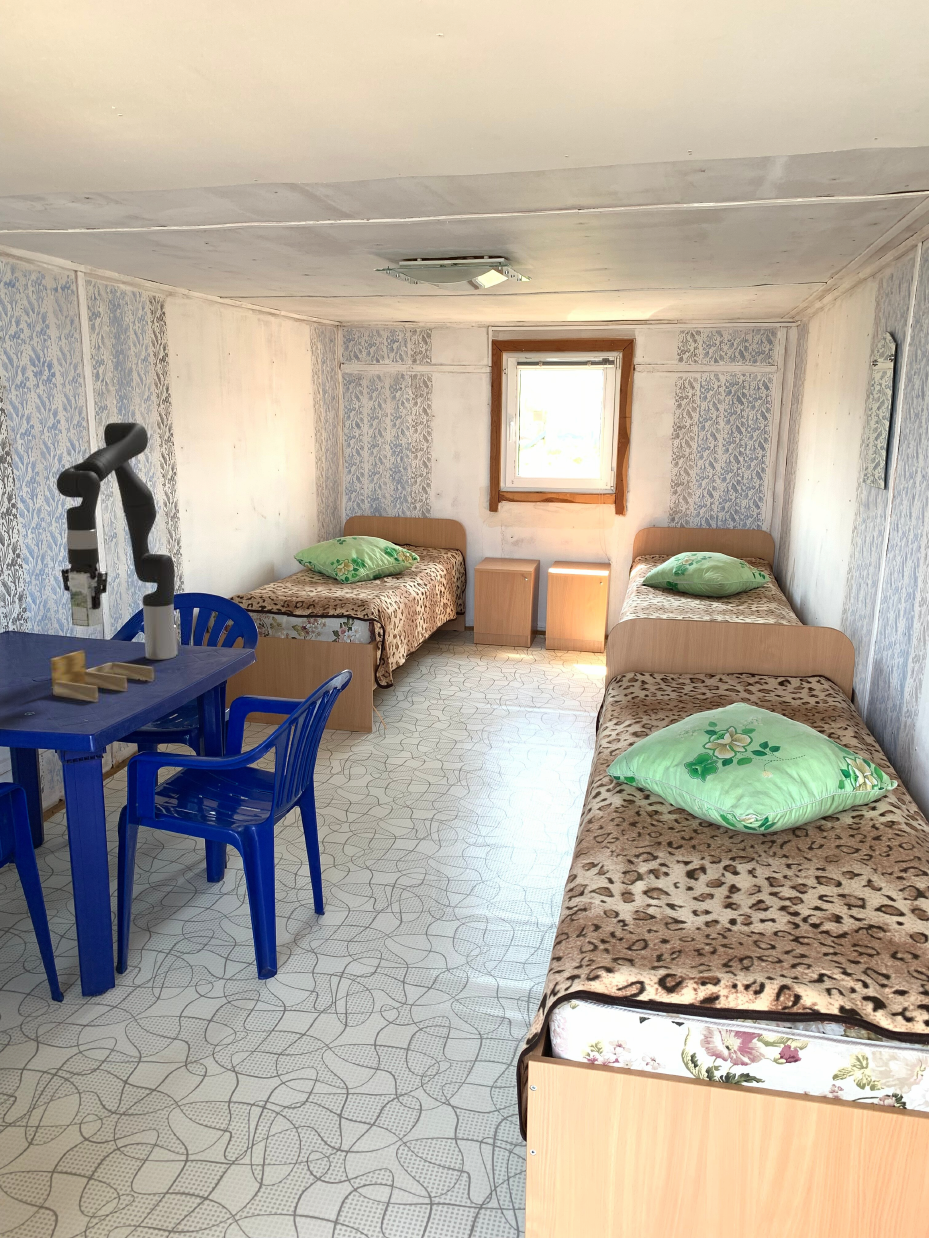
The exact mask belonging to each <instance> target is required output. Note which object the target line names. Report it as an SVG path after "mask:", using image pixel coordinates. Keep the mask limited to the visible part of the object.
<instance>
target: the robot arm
mask: <svg viewBox="0 0 929 1238" xmlns="http://www.w3.org/2000/svg"><path fill="white" fill-rule="evenodd" d="M103 437H104V444H105V446H104V447H103V448H100V449H98V450H96V451H94V452H92V453H91V454H89V455H88V456H87V457H86V458H85V459H84V460H83V461H81V462H79V463H76V464H74V465H72V466H69V467H67V468H66V469H64V470H62V471H61V472H60V473H59V475H58V477H57V479H56V488H57V490H58V492H59V493H60V494H61V495H62V496H63V497H66V498H75V499H76V498H79V499H82V500H81V502H80V504H79V505H78V506H77V505H76V506H72V507H69V508H68V509H67V510H66V513H65V514H66V530H67V531H66V547H67V562H68V564H69V565H70V568H67V567H66V568H63V569H61V570H60V572H61V577H62V583H63V589H64V591H65V592H68V593H70V586H69V573H71V572H73V573H78V572H81V574H85V573H89V574H90V578H91V580H95V578H97V579H96V583H95V584H91V583H89V587H90V589H91V595H92V596H91V601H92V609H94V610H96V609H99V608H100V606H101V607H102V601H101V602H100V595H101V596H102V594H106V593H107V585H108V571H102V570H99V568H98V566H97V565H98V564H99V563H100V560H99V545H98V544H99V542H98V535H97V530H96V529H97V528H96V526H97V525H96V510H97V505H98V501H99V496H100V492H101V483H102V482H103V481H104V480H105V479H106V478H107V477H108V476H109V475H110V474H112V472H114V475H115V479H116V482H117V486H118V490H119V494H120V495H119V496H120V500H121V505H122V509H123V513H124V518H125V520H126V525H127V529H128V534H129V538H130V544H131V550H132V551H131V553H132V558H133V565H134V571H135V574H136V575H135V576H136V577H137V579H138V580H139V581H140V582H142V583H145V584H146V583H148V584H149V583H150V584H156V589H155V590H154V591H152V592H150V593H147V594H144V595H143V597H142V608H143V609H142V610H143V612H142V613H143V628H144V629H143V630H144V644H145V645H144V646H145V647H144V648H145V658H146V659H149V660H169V659H172V658H174V657H175V658H176V655H178V654H179V651H178V650H179V649H178V632H177V625H175V610H174V608H175V607H174V604H175V603H174V597H175V577H176V575H175V574H176V573H175V563H174V560H173V558H172V556H171V555H168V554H165V553H164V554H161V553H151V551H150V549H149V548H150V547H149V535H150V533H151V530H152V529H153V527H154V525H155V522H156V519H157V509H156V504H155V499H154V495H153V493H152V491H151V489H150V487H149V486H148V485H147V484H146V483H145V482H144V480H143V479H141V477H140V476H139V475H138V474H137V473H136V472H135V470H134V469H133V467H132V465H131V464H130V460H132V459H133V458H135V457H137V456H139V455H141V454H143V453H144V451H146V449H147V447H148V445H149V444H148V443H149V436H148V432H147V429H146V428H145V426H144V425H143V424H141V423H139V422H110V423H107V424H106V425H105V428H104V432H103ZM94 587H95V590H96V591H95V590H94Z"/></svg>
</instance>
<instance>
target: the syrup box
mask: <svg viewBox="0 0 929 1238" xmlns="http://www.w3.org/2000/svg"><path fill="white" fill-rule="evenodd" d="M96 579H97V578H95V580H91V578H90V574H89V573H85V574H81V572H78V573H73V572H71V573H69V582H68V586H70V592H69V599H70V612H71V625H72V626H76V627H77V626H78V627H90V628H91V627H95V626H99V625H101V624H103V623H104V622H103V614H102V611H103V609H102V605H101V606H100V608H99V609H96V610H94V609H92V601H91V596H92V595H91V589H90V587H89V583H91V584H95V583H96ZM94 590H95V587H94ZM95 591H96V590H95ZM100 602H101V603H102V594H101V595H100Z"/></svg>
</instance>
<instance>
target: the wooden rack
mask: <svg viewBox="0 0 929 1238" xmlns="http://www.w3.org/2000/svg"><path fill="white" fill-rule="evenodd" d="M85 653H86V651H85V650H78V651H75V652H71V653H68V654H67V653H66V654H64V655H59V656H56V657H53V658H50V667H51V669H50V670H51V680H52V681H51V682H52V694H53V695H54V696H56V697H57V696H58V697H63V698H71V699H76V700H82V701H89V702H95V703H96V702H99V691H98V688H103V689H107V690H115V691H121V692H126V691H128V679H132V680H138V679H140V681H145V680H148V681H147V682H154V681H155V677H154V676H155V669H154V667H153V666H148V665H147V666H145V665H139V664H132V663H126V662H125V663H124V662H116V661H115V662H108V663H104V664H101V665H98V666H95V667H92V668H89V669H87V667H86V654H85ZM153 680H154V681H153Z"/></svg>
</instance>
